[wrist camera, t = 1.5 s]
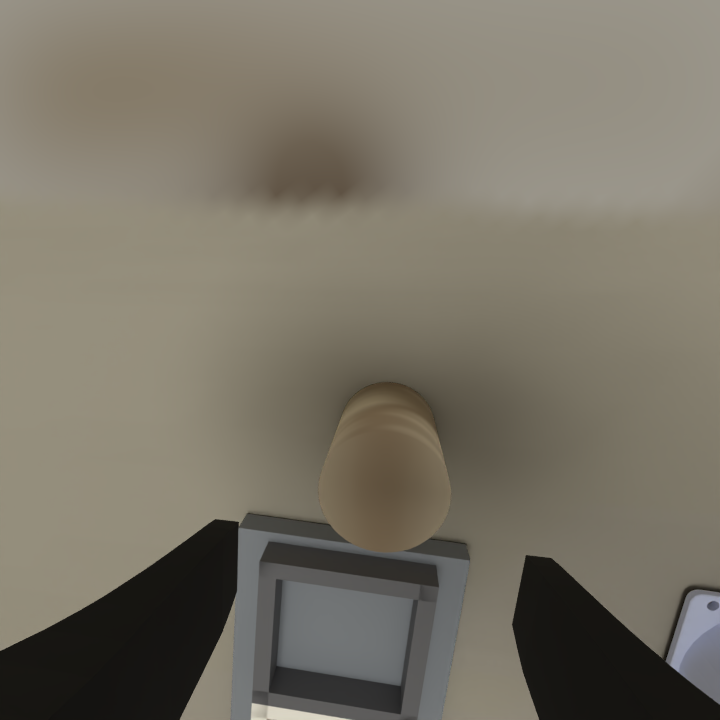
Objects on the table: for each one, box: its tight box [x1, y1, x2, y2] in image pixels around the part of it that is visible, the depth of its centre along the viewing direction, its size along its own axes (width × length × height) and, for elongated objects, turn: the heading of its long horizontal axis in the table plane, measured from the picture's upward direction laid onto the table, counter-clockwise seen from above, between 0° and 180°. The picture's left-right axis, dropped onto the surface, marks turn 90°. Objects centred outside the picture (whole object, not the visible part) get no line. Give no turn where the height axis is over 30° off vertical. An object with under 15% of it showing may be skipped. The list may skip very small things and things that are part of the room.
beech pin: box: [318, 382, 451, 553], centre depth 17 cm, size 4×4×6 cm
